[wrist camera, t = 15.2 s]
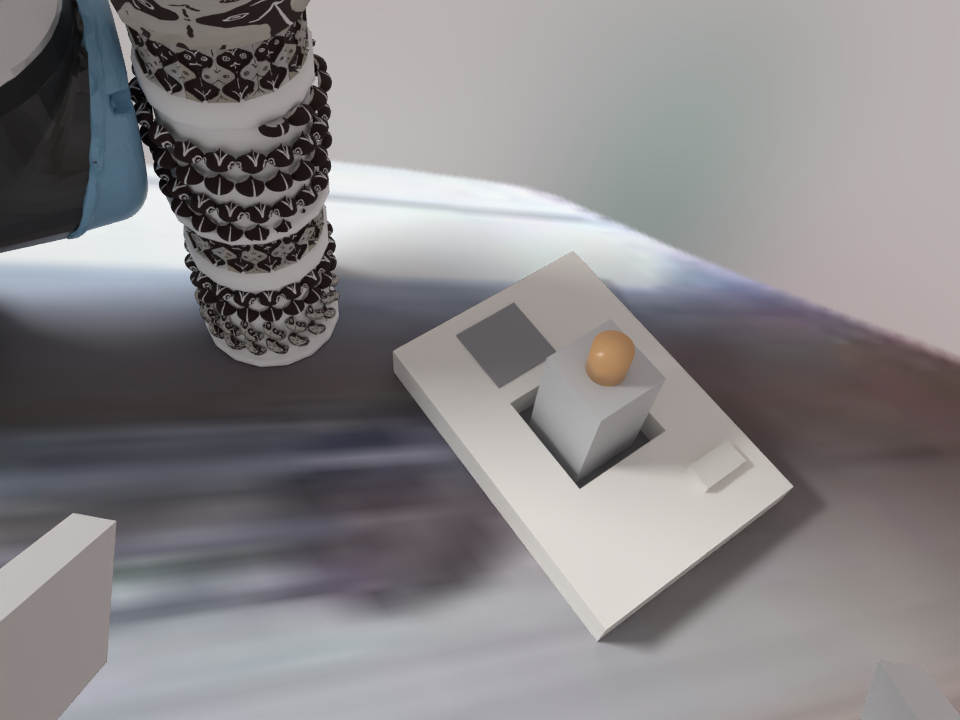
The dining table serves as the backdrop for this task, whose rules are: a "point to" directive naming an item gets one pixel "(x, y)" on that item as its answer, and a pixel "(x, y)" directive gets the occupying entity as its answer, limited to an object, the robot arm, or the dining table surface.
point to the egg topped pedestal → (594, 399)
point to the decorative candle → (242, 164)
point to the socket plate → (614, 485)
